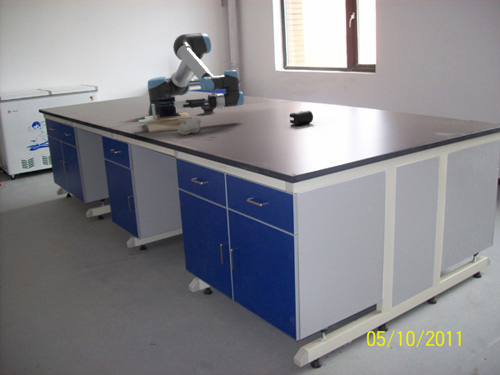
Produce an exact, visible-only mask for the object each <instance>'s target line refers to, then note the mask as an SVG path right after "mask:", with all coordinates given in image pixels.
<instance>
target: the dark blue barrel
mask: <svg viewBox="0 0 500 375" xmlns="http://www.w3.org/2000/svg"><path fill="white" fill-rule="evenodd" d="M175 101H176V96H169V97H160V98H158V102H159V103H158V105H159V109H160V118H163V117H172V116H176V117H177V113H178V112H177V107H174V102H175Z"/></svg>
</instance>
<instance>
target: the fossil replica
mask: <svg viewBox="0 0 500 375" xmlns="http://www.w3.org/2000/svg"><path fill="white" fill-rule="evenodd" d="M201 122H202V120H201V119H200V118H199V117H192V118H191V119H185V120H184V121H183V122H182V124H181V125H180V126H178V129H177V131H178V133H179V134H180V135H183V136H187V135H189V134H197V133H198V132H199V131H200V124H201Z"/></svg>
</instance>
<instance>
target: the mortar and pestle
mask: <svg viewBox="0 0 500 375" xmlns="http://www.w3.org/2000/svg"><path fill="white" fill-rule="evenodd" d="M213 94H214V95H216V94H217V93H215V92H211V95H213ZM200 108H201V110H202V111H203V114H204V115H207V114H214V113H215V112H214V110H215V108H212V109H210V108H209V106H202V107H200Z"/></svg>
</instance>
